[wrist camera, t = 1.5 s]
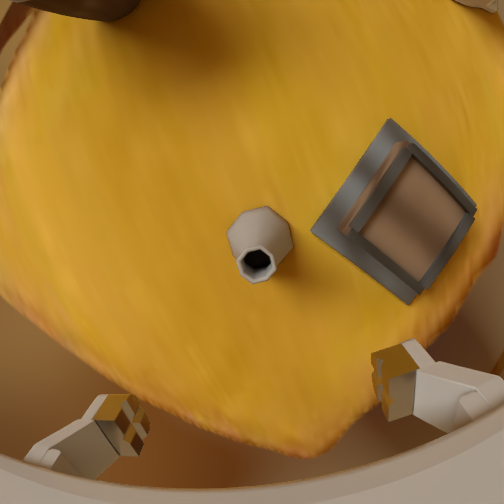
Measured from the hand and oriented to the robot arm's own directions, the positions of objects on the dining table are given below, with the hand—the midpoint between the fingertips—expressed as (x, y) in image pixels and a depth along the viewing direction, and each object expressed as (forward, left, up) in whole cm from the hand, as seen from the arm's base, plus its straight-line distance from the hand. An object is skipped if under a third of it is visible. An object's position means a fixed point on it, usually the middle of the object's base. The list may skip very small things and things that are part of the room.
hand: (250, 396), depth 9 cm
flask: (+1, 0, -26) cm, 26 cm away
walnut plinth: (-11, +12, -26) cm, 31 cm away
